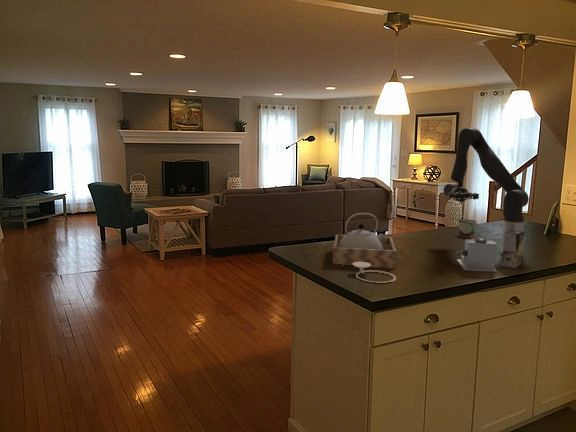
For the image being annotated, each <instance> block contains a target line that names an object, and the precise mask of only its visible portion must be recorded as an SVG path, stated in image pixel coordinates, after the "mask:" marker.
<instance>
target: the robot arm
mask: <svg viewBox="0 0 576 432" xmlns="http://www.w3.org/2000/svg"><path fill="white" fill-rule="evenodd" d="M456 147H457V148H456V152H455V153H456V155H455V160H454V164H453V169H452V171H451V174H450V179H451V181H454V182H456V183H457V184H453V183H447V184H445V186H444V187H443V191H442V192H443V194H444V196H446V197H448V198H449V199H454V200H455V201H457V202H459V203H461V202H465V201H466V200H479V198H480V194H479V193H477V192H469V191H468V189H467V188H465V187H464V179H465V176H466V173H467V168H468V158H467V157H468V151H469V148H470V147H472V148H473V149H474V150H475V152H476V154H477V155H478V159H479V162H480V166H481V168H482V169H483V171H484V172H485V173H486V175H487V176H488V177H489V178H490V179H491V180H492V181H493V182H495V183H496V184H498V185H499V186H500V187H501V188H502V189H503V190H504V191H505V195H504V197H503V198H504V199H503V206H502V207H503V209H502V214H503V224H502V225H503V227H502V236H501V246H500V253H501V254H502V255H503V246H504V236H505V232H507V231H509V230H513V231H522V232H524V223H525V216H524V215H523V214H522V213H523V212H522V209H523V207H525V206H527V205H528V203H529V201H530V198H529V195H528V193H527V191H526V190H525V189H524V188H523V187H522V186H521V185H520V184H519V183H518V182H517V181H516V180H515V179H514V177H513V175H512V174H511V173H510V171H509V170H508V168H507V167H506V166H505V165H504V163H503V162H502V161H501V159H500V158H499V157H498V156H497V154H496V153H495V152H494V150H493V149H492V148H491V147H490V145H489V144H488V142H487V141H486V139H485V137H484V136H483V134H482V132H481V131H480V129H478V128H475V127H464V128H462V129H461V130H460V131H459V134H458V139H457V146H456ZM524 239H525V238H524V236H523V240H524ZM523 246H524V244H523V245H522V249H523ZM521 256H523V253H522V254H521Z"/></svg>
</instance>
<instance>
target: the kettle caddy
mask: <svg viewBox="0 0 576 432" xmlns="http://www.w3.org/2000/svg"><path fill="white" fill-rule="evenodd" d="M345 235H346V234H335V237H334V243H333V246H332V264H342V265H341V266H344V265H353V264H352V263H354V262H367V263H370V264H371V267H370V268H380V267H383V269H396V266H397V265H396V264H397V263H396V262H397V248H396V247H395V246H396V245H395V243H394V239H393V238H392V237H391V236H384V237H383V238H382V239H381V240H380V242H381V244H382V247H383V250H376V249H356V248H338V245H339V243H340V241H341V239H342V238H343V237H344V236H345Z"/></svg>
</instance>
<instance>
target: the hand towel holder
mask: <svg viewBox="0 0 576 432" xmlns="http://www.w3.org/2000/svg"><path fill="white" fill-rule="evenodd" d="M352 264H353V265H354V266H353V267H355V268H358V269H359V271H358V272H356V274H355V275H356V277H357V278H359V279H361V280H364V281H369V282H376V283H387V282H392V283H394V282H395V281H396V280H397V277H396V275H395V274H393V273H391V272H388V271H384V270H376V269H375V270H373V269H368V270H364V269H366V268H371V267H370V266H371V264H370V263H367V262H354V263H352ZM364 272H379V273H378V274H382V273H384V274H383V275H386V274H388V275H387V276H389V275H390V277H391V278H393V279H391V280H387V281H373V280H366V279H363V278H361V277H359V275H361V274H360V273H363V274H365V273H364ZM358 274H359V275H358ZM356 277H355V278H356ZM357 278H356V279H357ZM393 281H394V282H393Z"/></svg>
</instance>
